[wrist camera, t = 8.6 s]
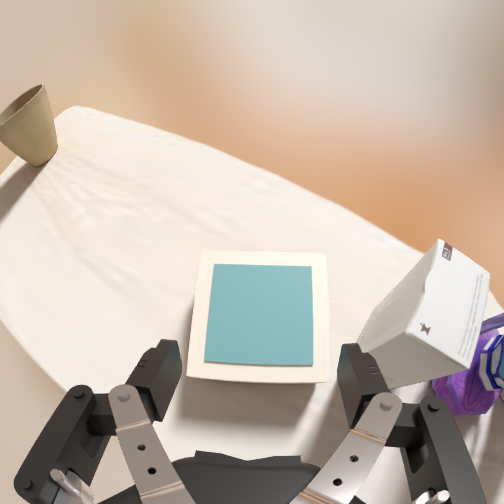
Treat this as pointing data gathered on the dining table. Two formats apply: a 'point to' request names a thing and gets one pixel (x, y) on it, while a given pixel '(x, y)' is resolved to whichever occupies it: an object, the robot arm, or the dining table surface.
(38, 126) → the plant pot
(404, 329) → the skincare box
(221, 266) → the block
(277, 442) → the dining table surface
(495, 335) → the lantern
